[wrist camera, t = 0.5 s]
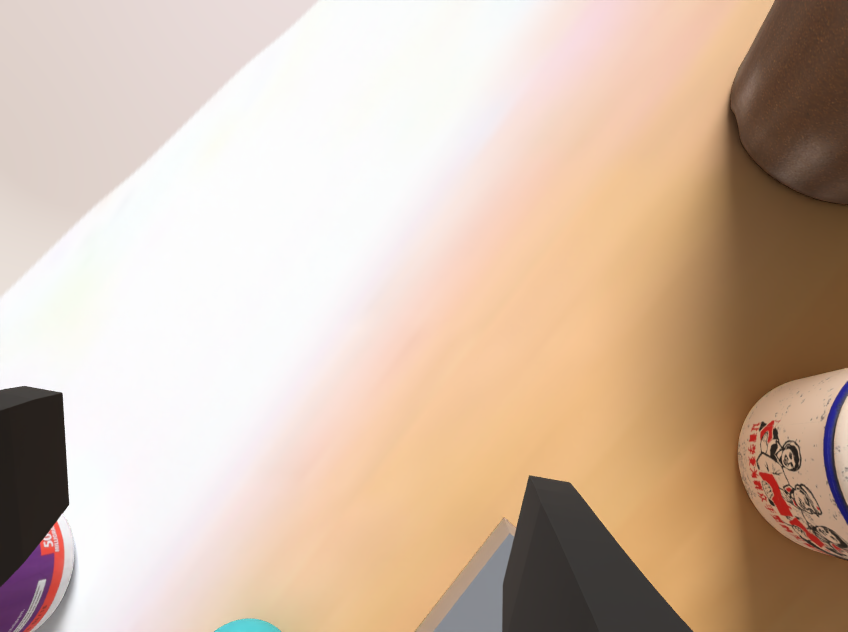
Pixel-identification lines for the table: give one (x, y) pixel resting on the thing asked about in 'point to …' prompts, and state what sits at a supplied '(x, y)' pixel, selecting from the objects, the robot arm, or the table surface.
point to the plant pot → (798, 97)
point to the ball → (248, 626)
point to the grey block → (476, 589)
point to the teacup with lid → (801, 460)
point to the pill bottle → (38, 582)
